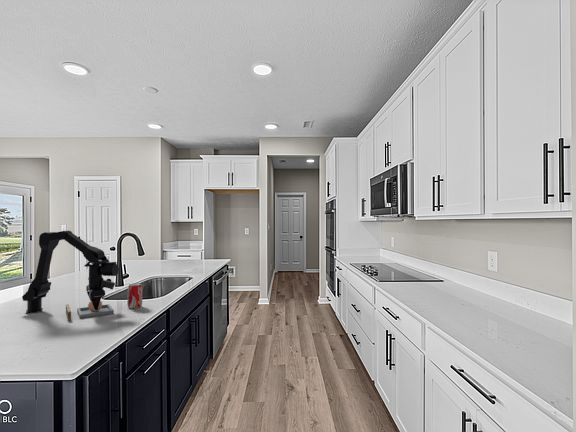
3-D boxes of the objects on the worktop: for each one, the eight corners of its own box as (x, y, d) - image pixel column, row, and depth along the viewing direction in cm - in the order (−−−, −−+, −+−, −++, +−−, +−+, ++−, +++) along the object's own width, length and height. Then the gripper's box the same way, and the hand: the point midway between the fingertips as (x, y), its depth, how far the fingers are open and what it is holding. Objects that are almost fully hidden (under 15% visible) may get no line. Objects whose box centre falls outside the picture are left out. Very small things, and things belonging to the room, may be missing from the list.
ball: (87, 311, 165) (87, 298, 165) (101, 309, 169) (101, 297, 169) (88, 314, 160) (88, 301, 160) (102, 312, 164) (103, 299, 164)
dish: (77, 311, 166) (77, 308, 166) (109, 307, 174) (109, 304, 174) (79, 318, 155) (79, 314, 155) (113, 313, 163) (113, 310, 163)
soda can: (136, 309, 171) (136, 285, 171) (124, 308, 172) (124, 285, 173) (145, 306, 178) (145, 283, 178) (133, 305, 179) (133, 282, 179)
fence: (65, 312, 164) (65, 304, 164) (68, 312, 165) (68, 304, 165) (67, 320, 151) (67, 312, 151) (71, 320, 152) (71, 311, 152)
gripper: (117, 276, 162) (116, 309, 162) (110, 271, 177) (110, 301, 177) (90, 279, 155) (90, 313, 155) (86, 273, 170) (85, 304, 170)
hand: (95, 307), depth 165 cm, fingers open, 9 cm apart
